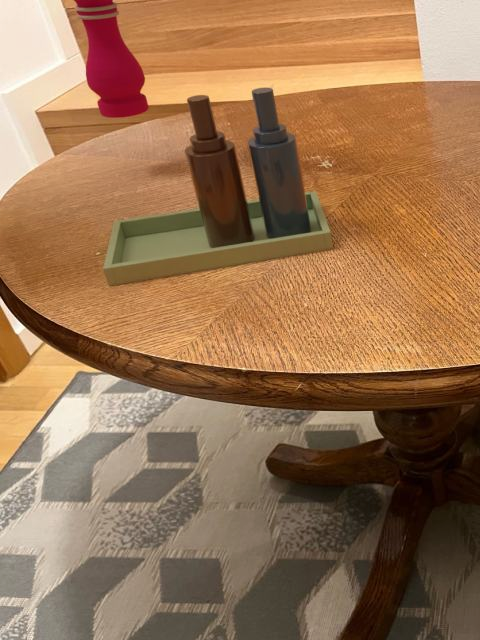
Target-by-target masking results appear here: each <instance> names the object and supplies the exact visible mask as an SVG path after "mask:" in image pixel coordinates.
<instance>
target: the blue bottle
mask: <svg viewBox="0 0 480 640" xmlns="http://www.w3.org/2000/svg"><path fill="white" fill-rule="evenodd" d="M251 96H252V101H253V106H254V110H255V112H254V113H255V116H256V122H257V125H256V126H255V127H254V128H252V137H249V139H247V141H246V145H247V150H248V154H249V159H250V164H251V169H252V175H253V178H254V182H255V183H254V184H255V187H256V192H257V197H258V199H259V203H260V207H261V212H262V217H263V222H264V227H265V231H266V236H267V237H268V238H269V239H273V238H279V237H285V236H292V235H298V234H304V233H310V231H311V225H310V219H309V213H308V207H307V201H306V195H305V192H306V189H305V184H304V178H303V172H302V166H301V161H300V154H299V148H298V143H297V137H296V135H295V134H294V133H292V132H289V131H288V129H287V125H286V124H284V123H280V121H279V116H278V109H277V104H276V99H275V94H274V89H273V88H272V87H257V88H254V89H252V90H251Z"/></svg>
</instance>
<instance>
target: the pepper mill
mask: <svg viewBox="0 0 480 640" xmlns="http://www.w3.org/2000/svg"><path fill="white" fill-rule="evenodd" d="M73 1H74V2H75V4H76V6H75V5H74V6H75V7H74V10H75V11H76V17H77V19H80V20H81V22H82V24H83V26H84V29H85V32H86V36H87V43H88V45H87V47H88V50H87V58H86V63H85V79H86V83H87V86H88V88H89V89H90V90H91V91H92V92H93V93H94V94H96V95H97V96H98V97H100V98H99V99H98V100H97V106H98V110H99V114H100V115H101V116H102V117H105V118H109V119H110V118H111V119H119V118H121V119H122V118H129V117H135V116H139V115H141V114H143V113H146V112H147V111H148V110H149V104H148V99H147V96H146V95H145V94H144V93H142V90H143V87H144V85H145V83H146V77H145V74H144V71H143V68H142V66H141V65H140V62H139V61H138V60H137V58H136V57H135V55H134V54H133V53H132V52H131V50H130V49H129V47H128V46H127V45H126V43H125V41H124V39H123V37H122V35H121V31H120V27H119V23H118V17H117V16H119V15H120V11H119V10H118V8H117V7H118V4H117V3H116V2H114V0H73Z"/></svg>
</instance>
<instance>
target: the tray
mask: <svg viewBox="0 0 480 640" xmlns="http://www.w3.org/2000/svg"><path fill="white" fill-rule="evenodd" d="M305 195H306V201H307V207H308V213H309V219H310V225H311V231H310V233H304V234H298V235H292V236H285V237H279V238H273V239H269V238H268V237H267V236H266V231H265V227H264V222H263V217H262V212H261V207H260V203H259V198H258V199H252V200H247V203H248V208H249V212H250V217H251V221H252V226H253V231H254V235H255V239H254V241H253V242H248V243H242V244H236V245H229V246H223V247H217V248H211V247H210V246H209V244H208V240H207V236H206V233H205V229H204V225H203V221H202V217H201V213H200V209H199V207H197V208H191V209H190V208H189V209H184V210H179V211H178V210H176V211H170V212H164V213H156V214H151V215H150V214H149V215H144V216H137V217H130V218H123V219H116V220H113V224H112V228H111V233H110V236H109V241H108V245H107V249H106V254H105V259H104V261H103V262H104V263H103V267H102V271H103V273H104V277H105V279H106V282H107V285H108V287H113V286H120V285H125V284H130V283H137V282H141V281H142V282H144V281H148V280H154V279H161V278H167V277H172V276H180V275H184V274H185V275H186V274H191V273H196V272H203V271H208V270H215V269H220V268H221V269H222V268H228V267H233V266H239V265H245V264H246V265H247V264H251V263H257V262H263V261H267V260H268V261H269V260H274V259H281V258H287V257H293V256H294V257H295V256H300V255H305V254H311V253H319V252H324V251H330V250H334V244H333V238H332V231H331V228H330V226H329V222H328V220H327V218H326V214H325V212H324V209H323V207H322V204H321V200H320V198H319V195H318V192H317V190H312V191H305Z"/></svg>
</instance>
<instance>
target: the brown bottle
mask: <svg viewBox="0 0 480 640" xmlns="http://www.w3.org/2000/svg"><path fill="white" fill-rule="evenodd" d="M186 103H187V106H188V110H189V115H190V118H191V122H192V126H193V130H194V134H193V135H191V136H190V137H189V142H190V145H188V146H187V147H186V148H185V149H184V156H185V159H186V162H187V167H188V171H189V174H190V178H191V183H192V186H193V191H194V192H195V193H194V194H195V198H196V202H197V206H198V208H199V209H200V213H201V217H202V221H203V225H204V229H205V233H206V236H207V240H208V244H209V246H210V247H211V248H217V247H223V246H229V245H236V244H242V243H248V242H253V241H254V239H255V235H254V231H253V226H252V221H251V217H250V212H249V208H248V203H247V201H248V199H247V195H246V189H245V185H244V180H243V176H242V171H241V167H240V162H239V158H238V152H237V149H236V148H237V147H236V144H235V142H234V141H231V140H228V139H226V135H225V133H224V132H223V131H219V130H217V126H216V122H215V117H214V113H213V109H212V104H211V99H210V96H209V95H208V94H207V95H206V94H196V95H192V96H189V97H187V99H186Z"/></svg>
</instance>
